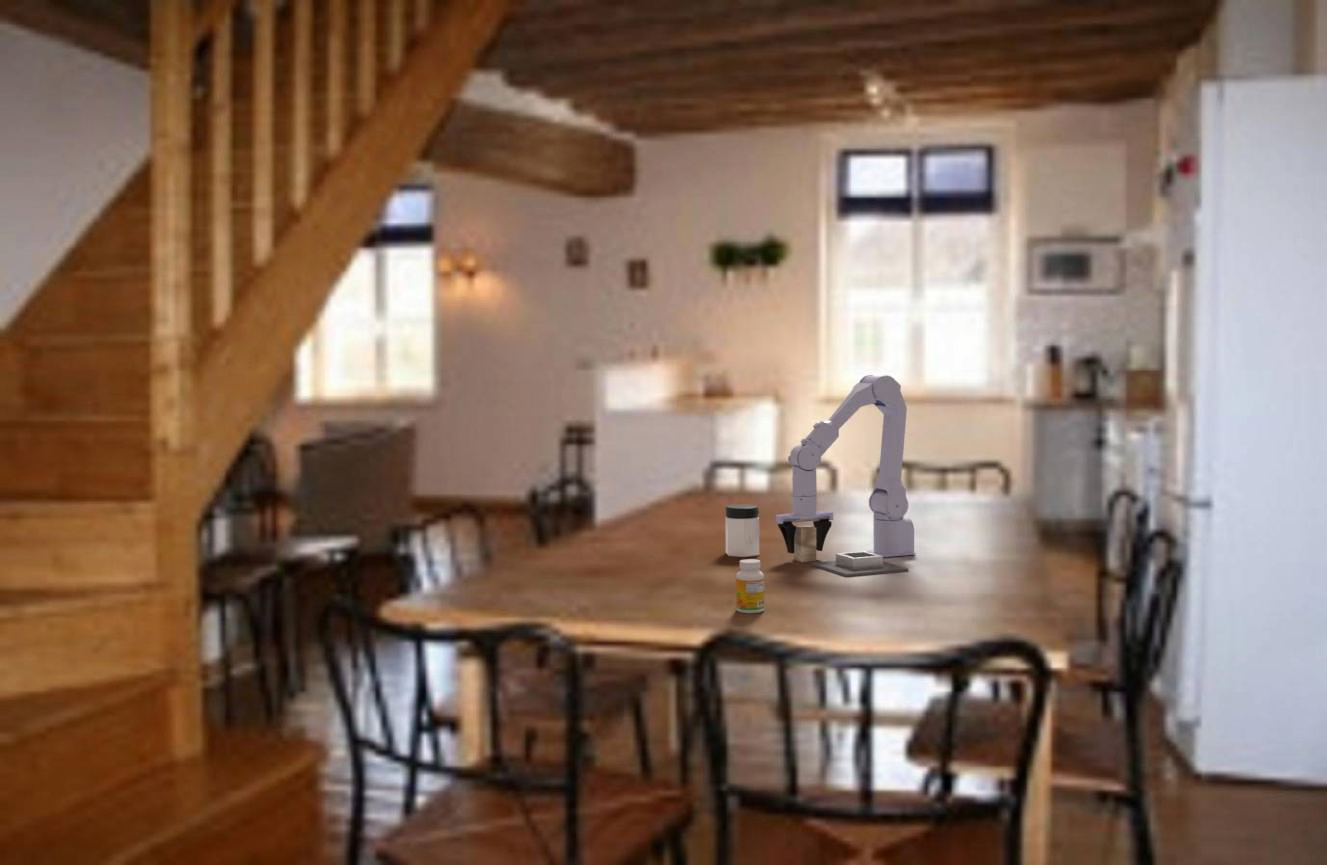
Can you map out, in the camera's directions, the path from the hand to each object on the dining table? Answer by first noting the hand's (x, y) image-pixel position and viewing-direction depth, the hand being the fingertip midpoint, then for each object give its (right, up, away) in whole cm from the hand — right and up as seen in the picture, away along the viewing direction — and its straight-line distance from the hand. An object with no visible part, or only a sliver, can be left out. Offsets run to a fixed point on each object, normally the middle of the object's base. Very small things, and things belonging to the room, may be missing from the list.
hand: (804, 551), depth 280 cm
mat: (+11, -3, -12) cm, 16 cm away
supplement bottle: (-17, -6, -55) cm, 58 cm away
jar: (-14, -2, +10) cm, 17 cm away
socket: (+11, -3, -12) cm, 16 cm away
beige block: (0, -2, 0) cm, 2 cm away
